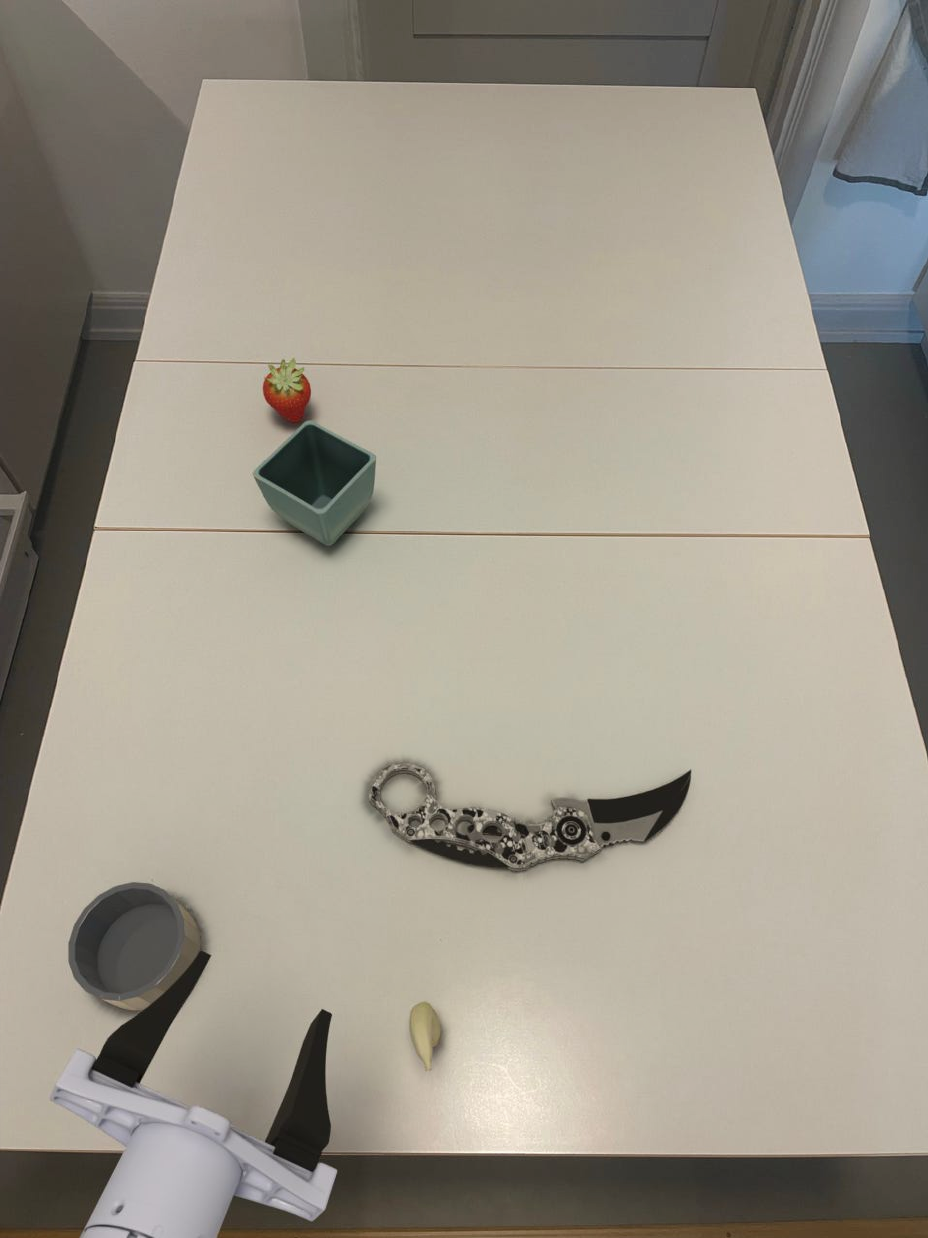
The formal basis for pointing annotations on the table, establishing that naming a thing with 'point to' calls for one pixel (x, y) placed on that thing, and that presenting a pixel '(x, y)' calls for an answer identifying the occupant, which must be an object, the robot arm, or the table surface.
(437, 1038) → the fruit
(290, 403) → the fruit
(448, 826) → the knife
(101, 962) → the holder
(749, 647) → the table surface
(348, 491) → the flower pot
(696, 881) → the table surface
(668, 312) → the table surface
